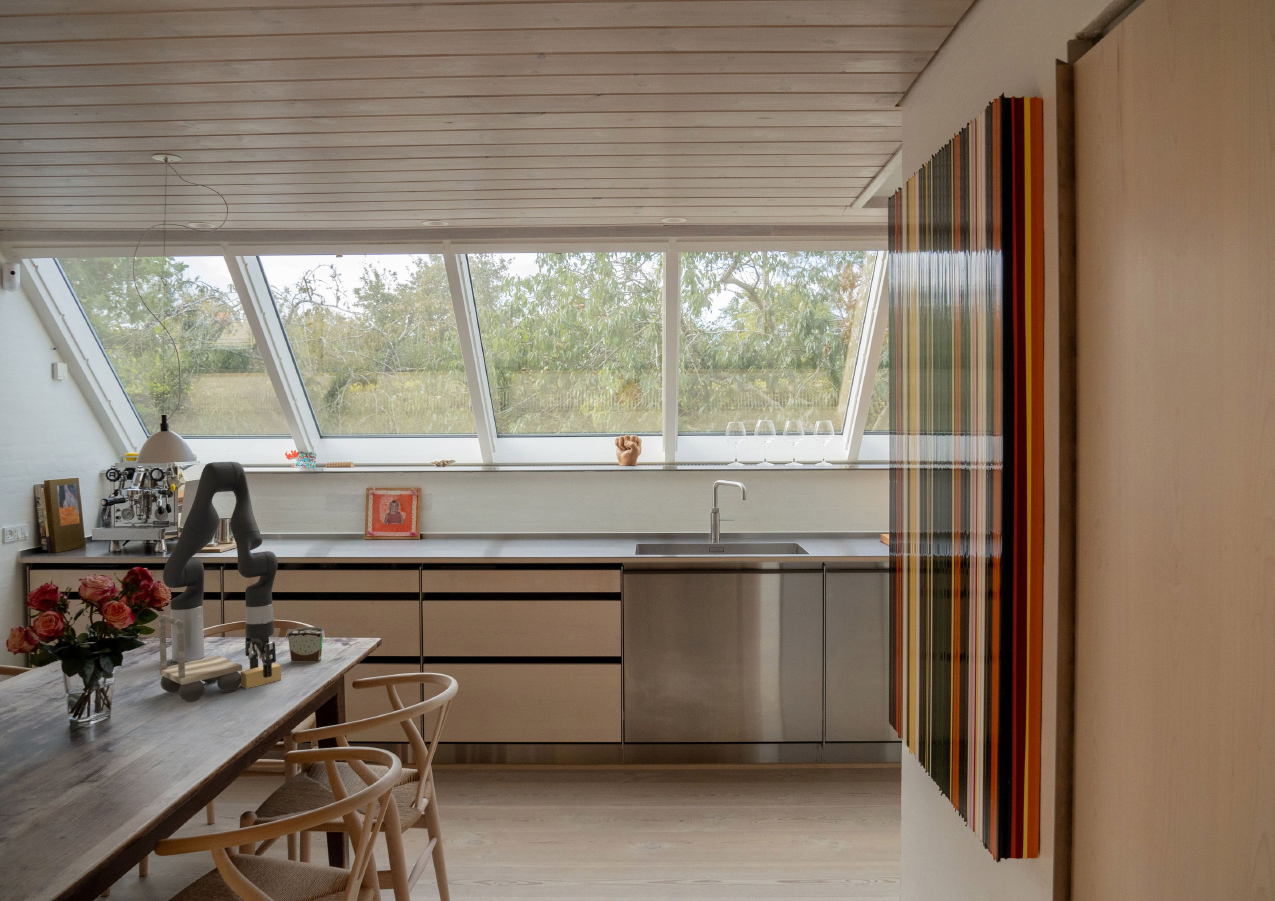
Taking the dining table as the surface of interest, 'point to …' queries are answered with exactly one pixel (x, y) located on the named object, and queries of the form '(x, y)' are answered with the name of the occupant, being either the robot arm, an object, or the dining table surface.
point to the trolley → (194, 668)
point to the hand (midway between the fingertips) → (260, 674)
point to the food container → (305, 644)
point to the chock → (259, 676)
